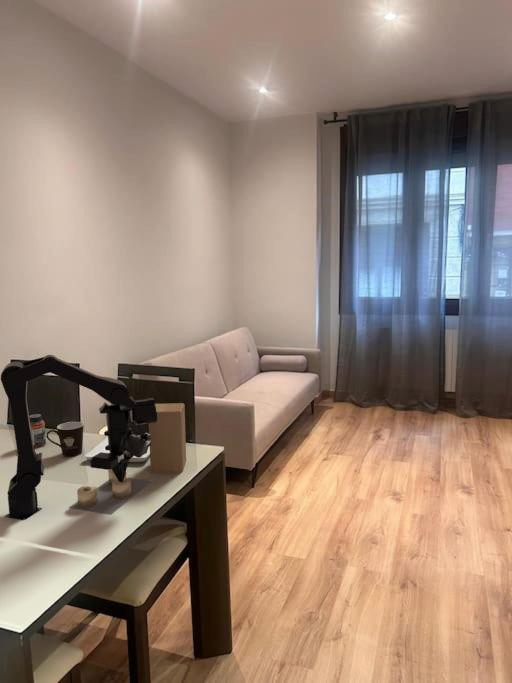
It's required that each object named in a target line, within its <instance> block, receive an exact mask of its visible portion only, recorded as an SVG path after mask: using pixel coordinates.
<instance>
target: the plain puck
mask: <svg viewBox="0 0 512 683" xmlns="http://www.w3.org/2000/svg"><path fill="white" fill-rule="evenodd" d="M129 478H130V477H126V478H124V480H123V481H122V482H120V481H118V479H115V480H113V481H112V491H113V498H115V499H124V498H128V497H129V496H131V480H130V479H129Z"/></svg>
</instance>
